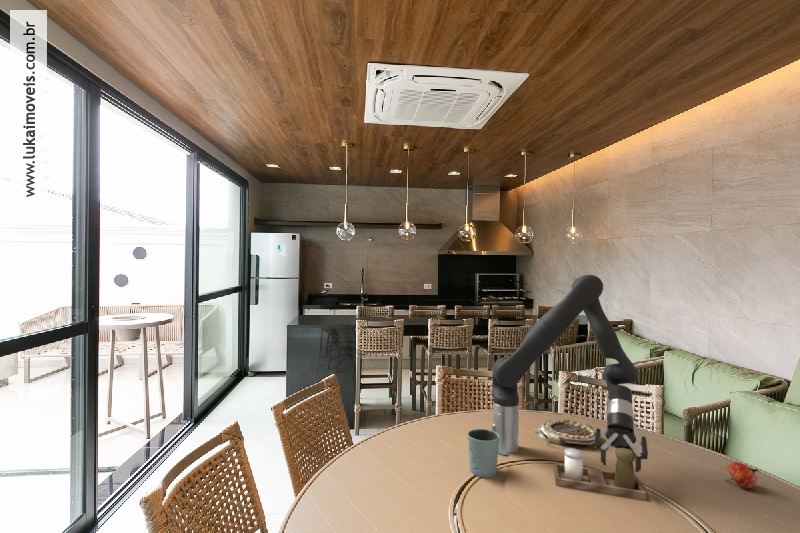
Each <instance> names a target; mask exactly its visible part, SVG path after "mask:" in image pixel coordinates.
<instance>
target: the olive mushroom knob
mask: <svg viewBox="0 0 800 533" xmlns="http://www.w3.org/2000/svg"><path fill="white" fill-rule="evenodd" d="M614 453H615V454H614V455H615V457H616V464H615V465H616V466H615V471H614V472H615V477H614V485H615V486H616V487H620V488H627V489H633V490H636V482H635V475H636V474H635V469H634V462H635V454H634V452H633V451H632V450H630V449H627V448H622V447H620V448H615V452H614Z"/></svg>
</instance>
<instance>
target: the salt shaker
mask: <svg viewBox="0 0 800 533" xmlns="http://www.w3.org/2000/svg"><path fill="white" fill-rule="evenodd" d="M564 464H565V479H570V480H577V481H583V467H584V453H583V451H581V450H580V449H576V448H573V447H572V448H571V447H570V448H568V447H567V448H565V449H564Z"/></svg>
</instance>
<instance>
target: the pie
mask: <svg viewBox="0 0 800 533" xmlns="http://www.w3.org/2000/svg"><path fill="white" fill-rule="evenodd" d="M596 429H597V428H594V427H592V426H591V425H589V424H586V423H583V422H578V421H577V420H571V419H564V418H563V419H562V418H561V419H554V420H552V419H549V420H546V421H544V422H543V423H542V425H541V427H539V428H535V429H534V430H533V431H534V432H535V433H536V434H538V436H539V437H540V438H541V439H545V440H544V442H545V444H546V445H547V446H549V447H550V448H552V446H550V443H554V444H558V445H563V446H565V445H566V446H573V447H587V448H588V447H591V446H593V445H595V436H596ZM538 431H540V432H538ZM553 448H555V447H554V446H553ZM555 449H556V448H555Z"/></svg>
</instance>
